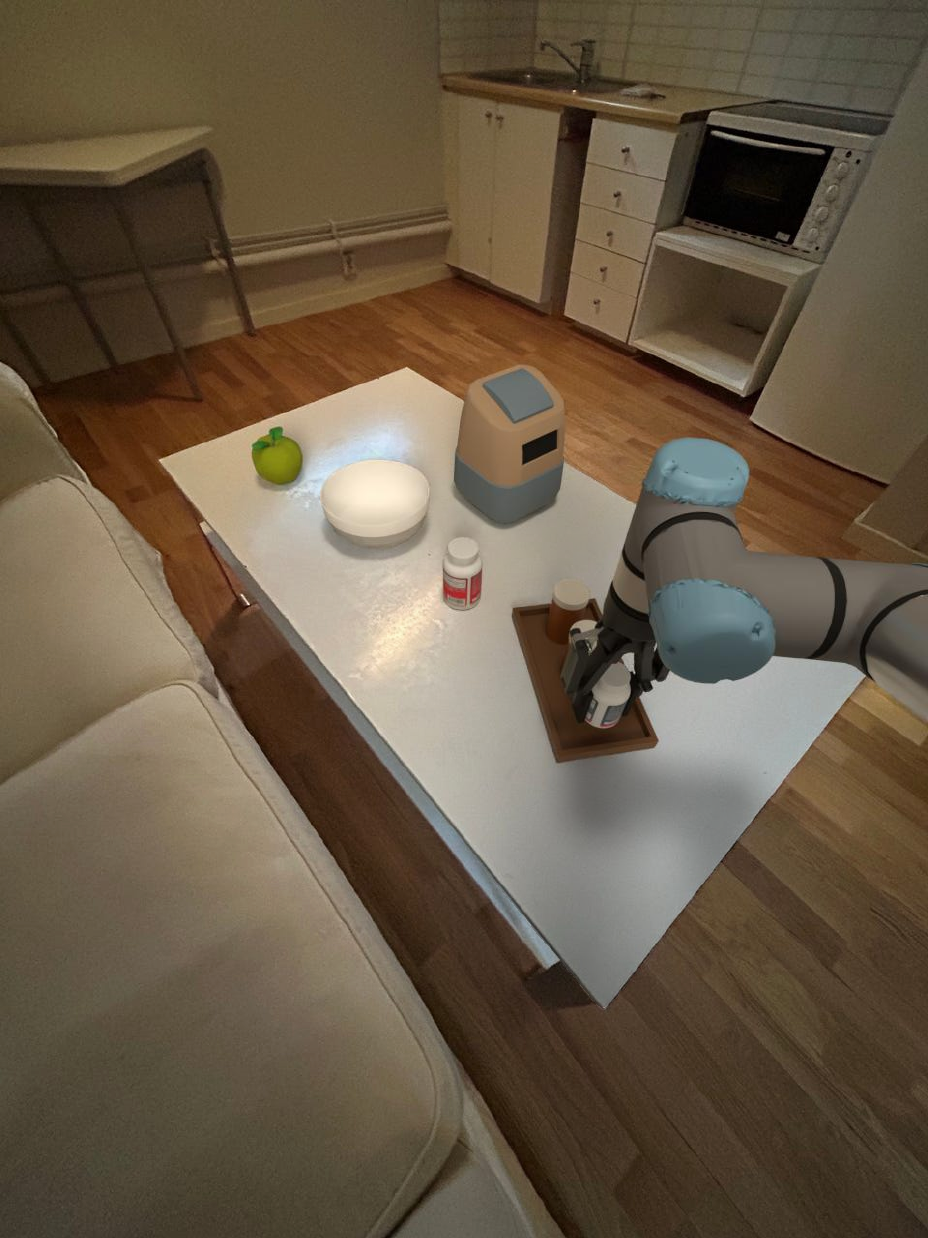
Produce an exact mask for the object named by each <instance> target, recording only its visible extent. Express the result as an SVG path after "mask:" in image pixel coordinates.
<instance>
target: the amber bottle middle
mask: <svg viewBox="0 0 928 1238" xmlns="http://www.w3.org/2000/svg"><path fill="white" fill-rule="evenodd" d="M596 623H597V622H595V621H592V620H581V621H578V622H576V623H575V624H574V625H573V626H572V627H571V630H572V629H574V628H580V630H581V632H585V631H589V630H592V629H594V628H595V625H596ZM571 630H570V631H571ZM571 642H572V640H571V636H570V633H569V640H568V643H567V647H566V651H565V654H564V658H563V662H562V665H561V669H560V675H561V673H562V670H563V667H564V664H565V661H566V658H567V654H568V651H569V648H570V645H571ZM596 646H597V641H595V642H594V644H593V646H592V650H594V649H595V647H596ZM591 653H592V652H591ZM591 653H589V655H590V654H591Z"/></svg>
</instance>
